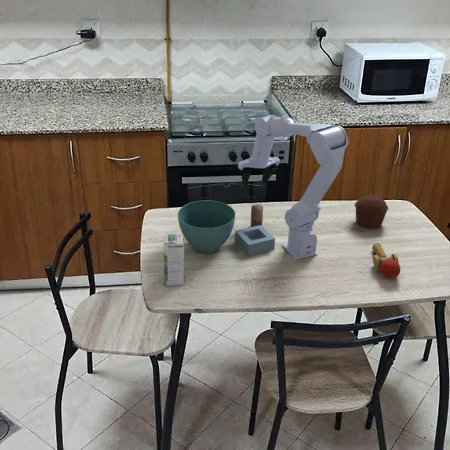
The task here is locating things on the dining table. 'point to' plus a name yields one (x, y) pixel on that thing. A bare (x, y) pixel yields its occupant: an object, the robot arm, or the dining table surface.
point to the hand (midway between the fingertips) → (254, 183)
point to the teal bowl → (206, 224)
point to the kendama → (385, 262)
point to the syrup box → (173, 259)
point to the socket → (254, 240)
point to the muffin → (370, 211)
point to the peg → (256, 215)
